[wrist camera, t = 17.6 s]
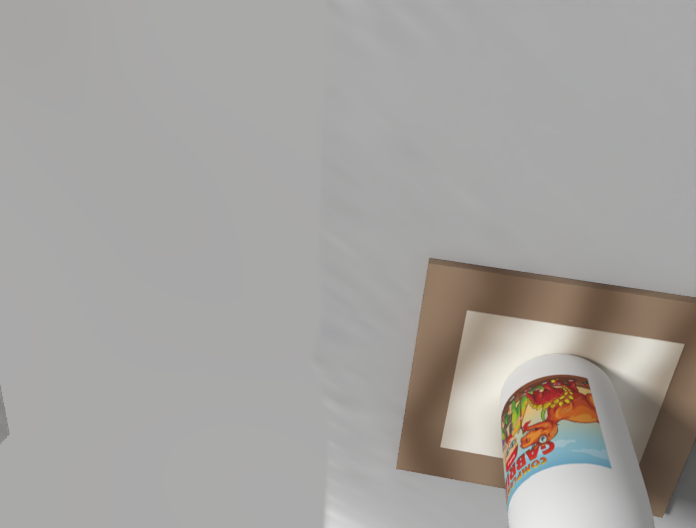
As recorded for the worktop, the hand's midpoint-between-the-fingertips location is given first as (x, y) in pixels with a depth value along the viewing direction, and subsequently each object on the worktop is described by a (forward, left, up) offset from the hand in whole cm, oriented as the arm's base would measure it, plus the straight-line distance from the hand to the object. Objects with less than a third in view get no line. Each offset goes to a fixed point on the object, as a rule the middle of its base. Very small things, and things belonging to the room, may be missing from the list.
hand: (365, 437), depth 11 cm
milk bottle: (-11, +21, -31) cm, 39 cm away
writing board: (-11, +21, -32) cm, 40 cm away
